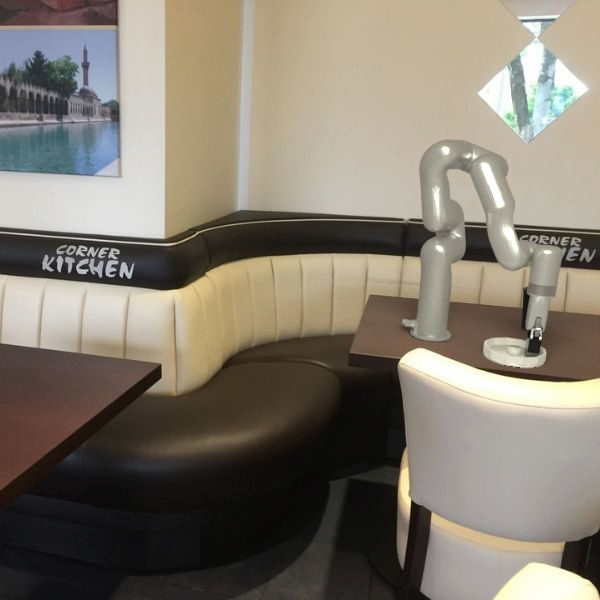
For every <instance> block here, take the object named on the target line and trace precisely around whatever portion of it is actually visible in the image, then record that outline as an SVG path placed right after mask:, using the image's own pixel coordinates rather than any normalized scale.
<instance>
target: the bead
mask: <svg viewBox="0 0 600 600" xmlns="http://www.w3.org/2000/svg"><path fill="white" fill-rule="evenodd" d="M525 341H526V346H525V353H524V356H525V357H537V356H539V354H535V353H529V352H528V351H527V350H528V344H529V338H527V337H526V340H525Z"/></svg>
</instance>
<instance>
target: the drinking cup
mask: <svg viewBox="0 0 600 600" xmlns="http://www.w3.org/2000/svg"><path fill="white" fill-rule="evenodd" d="M527 289H528V285H527V286H523V287H522V312H521V329H522V330H524V329H525V330H524V331H527V329H526V316H527V310H528V304H529V299H530V295H529V294H527Z"/></svg>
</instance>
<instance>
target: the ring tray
mask: <svg viewBox="0 0 600 600" xmlns="http://www.w3.org/2000/svg"><path fill="white" fill-rule="evenodd" d="M483 342H484V343H483V347H482V348H483V349H482V355H483V357H485V359H487V360H489V361H491V362H492V363H495V364H498V365H502V366H504V365H506V366H505V367H509V366H513V367H512V368H515V367H520V368H519V369H535V368H534V367H536V368H540V367H542V366H544V364H545V362H546V359H547V350H546V348H544V347H543V346H541V348H540V353H539V356H537V357H525V356H524V353H525V346H526V340H525V339H522V338H521V339H520V338H512V337H507V336H506V337H491V338H488V339H486V340H484V341H483Z"/></svg>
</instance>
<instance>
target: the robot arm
mask: <svg viewBox="0 0 600 600" xmlns="http://www.w3.org/2000/svg"><path fill="white" fill-rule="evenodd" d="M418 170H419V174H418V175H419V183H420V185H419V186H420V201H421V219H422V223H423V224H422V225H423V226H424V228H425V229H426V230H427V231H429V232H432V233H435V236H434V237H431V238H430V239H428V240H426V241H425V243H424V244H423V245H422V247H421V248H420V253H419V254H420V256H419V257H420V258H419V259H420V260H419V261H420V279H419V280H420V281H419V293H418V302H417V311H416V319H412V320H411V319H407V318H403V319H402V323H401V324H402V326H404V327H405V328H411V329H410V333H409V334H410V335H411V336H412V337H413V336H414V338H415V339H418V340H421V341H426V342H435V343H436V342H437V343H438V342H445V341H448V340H450V339H451V338H452V334H451V332H450V331H449V330H448V329H447V328H448V321H449V320H448V318H449V310H450V301H451V294H452V292H451V291H452V283H453V282H452V281H453V275H452V274H453V273H452V265H453V264H455V263H457V262H459V261H460V260H461V259H462V258H463V257H464V255H465V252H466V246H467V245H466V244H467V241H466V226H465V225H466V223H465V214H464V210H463V208H462V206H461V204H460V203H459V202H457V201H456V200H454V199H451V190H450V181H449V178H448V171H450V170H460V171H462V172H465V173H467V174H469V176H470V178H471V181H472V183H473V187H474V188H475V191H476V193H477V195H478V199H479V201H480V202H481V203H480V204H481V207H482V208H483V211H484V214H485V226H486V229H487V230H486V232H487V236H488V241H489V243H490V246H491V249H492V251H493V253H494V256H495V258H496V261H497V262H498V264H499V265H500V266H501V267H502V268H503V269H504V270H506V271H510V272H515V271H518V270H521V269H523V268H527V267H530V269H529V275H528V282H527V286H528V289H527V294H529V295H530V299H529V304H528V310H527V316H526V329H527V330H528V331H527V330H526V331H527V336H526V339H527V338H529V344H528V350H527V351H528V352H529V353H535V354H539V353H540V348H541V347H542V336H543V335H542V334H543V333H544V332H545V331H546V325H547V321H548V317H549V310H550V305H551V299H553V298H556V295H557V291H558V290H557V289H558V283H559V276H560V272H561V265H562V258H563V249H562V248H561V247H560V246H556V245H550V244H538V243H535V242H533V241H532V242H531V241H529V240H528V241H527V240H524V239H523V240H522V239H521V240H519V238H518V234H517V233H516V229H515V224H514V213H515V210H516V200H515V197H514V196H513V194H512V191H511V189H510V186H509V183H508V181H507V178H506V177H507V176H508V173H509V163H508V161H507V159H505V157H503V156H502V155H501V154H498V153H496V152H493V151H492V150H489V149H486V148H483V147H481V146H479V145H477V144H474V143H472V142H469V141H468V140H464V139H443V140H439V141H437V142H435V143H433V144H432V145H431V146H429V147H427V149H426V150H425V152H424V153H423V154H422V156H421V158H420V162H419V169H418Z"/></svg>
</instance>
